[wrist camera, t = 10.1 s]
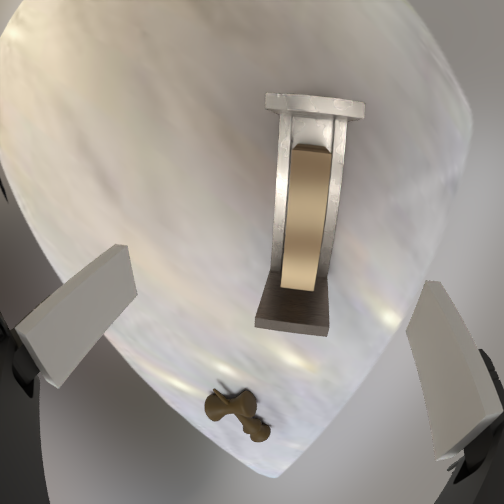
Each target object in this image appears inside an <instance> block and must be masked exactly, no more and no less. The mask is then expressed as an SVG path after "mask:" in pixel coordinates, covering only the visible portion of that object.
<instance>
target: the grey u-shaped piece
mask: <svg viewBox="0 0 504 504" xmlns="http://www.w3.org/2000/svg"><path fill="white" fill-rule="evenodd" d="M265 109H267V110H269V111H272V112H274V113H276V114H278V115H280V121H279V142H278V161H277V179H276V195H275V211H274V226H273V241H272V255H271V268H270V272H269V275H268V278H267V281H266V285H265V288H264V291H263V294H262V297H261V301H260V304H259V307H258V310H257V313H256V316H255V327H257V328H263V329H270V330H277V331H284V332H291V333H299V334H307V335H316V336H325V337H327V334H328V331H329V301H328V281H327V274H328V269H329V263H330V258H331V252H332V246H333V240H334V233H335V227H336V220H337V213H338V206H339V198H340V190H341V182H342V173H343V164H344V153H345V142H346V129H347V122H350V121H355V120H360V119H364V112H365V103H363V102H357V101H351V100H344V99H337V98H329V97H321V96H311V95H299V94H284V93H265ZM297 144H308V145H318V146H325V147H326V148H327V149H328V150H329V152H330V153H331V154H332V157H331V167H330V178H329V187H328V196H327V204H326V212H325V220H324V228H323V235H322V242H321V249H320V255H319V261H318V268H317V274H316V280H315V285H314V291H307V290H299V289H292V288H284V287H281V278H282V268H283V258H284V247H285V236H286V224H287V212H288V200H289V186H290V172H291V157H292V149H293V148H294V147H295V146H296V145H297Z"/></svg>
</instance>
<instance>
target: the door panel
mask: <svg viewBox="0 0 504 504" xmlns="http://www.w3.org/2000/svg"><path fill="white" fill-rule="evenodd" d="M331 157H332V154H331V153H330V152H329V150H328V149H327V148H326V147H325V146H318V145H308V144H297V145H296V146H295V147H294V148H293V149H292V157H291V172H290V186H289V200H288V212H287V224H286V236H285V247H284V258H283V268H282V278H281V287H284V288H292V289H299V290H307V291H314V285H315V280H316V274H317V268H318V261H319V255H320V249H321V242H322V235H323V228H324V220H325V212H326V204H327V196H328V187H329V178H330V167H331Z"/></svg>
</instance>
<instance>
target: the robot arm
mask: <svg viewBox="0 0 504 504" xmlns="http://www.w3.org/2000/svg"><path fill="white" fill-rule="evenodd" d="M137 295H138V294H137V290H136V286H135V281H134V276H133V272H132V267H131V262H130V257H129V251H128V246H126V245H118V244H115V245H113V246H112V247H111V248H109V249H108V250H107V251H105V252H104V253H103V254H101V255H100V256H99V257H97V258H96V259H95V260H94V261H92V262H91V263H90V264H88V265H87V266H86V267H85V268H83V269H82V270H81V271H79V272H78V273H77V274H76V275H74V276H73V277H72V278H71V279H70V280H68V281H67V282H66V283H65V284H63V285H62V286H61V287H60V288H59V289H58V290H56V291H55V292H54V293H53V294H51V295H49V296H48V297H47V298H46V299H45V300H44V301H42V302H41V304H39V305H38V306H37V307H36V308H35V310H32V311H31V312H30V313H29V314H28V315H27V316H26V317H24V318H23V319H22V320H21V321H20V322H19V323H18V324H17V325H16V326H15V327H14V328H13V329H12V330H9V328H8V326H7V324H6V322H5V320H4V318H3V316H2V314H1V312H0V504H50V501H49V497H48V492H47V487H46V481H45V476H44V468H43V461H42V451H41V440H40V420H39V391H40V380H39V377H38V376H37V374H38V373H39V372H41V373H42V375H43V376H44V377H45V379H46V381H47V382H49V383H50V384H52V385H53V386H55V387H57V388H58V389H59V388H60V387H61V385H62V384H63V382H64V381H65V380H66V379H67V377H68V376H69V375H70V374H71V372H72V371H73V370H74V369H75V367H76V366H77V365H78V364H79V363H80V361H81V360H82V359H83V358H84V356H85V355H86V354H87V353H88V352H89V350H90V349H91V348H92V347H93V346H94V344H95V343H96V342H97V341H98V340H99V338H100V337H101V336H102V335H103V334H104V333H105V331H106V330H107V329H108V328H109V327H110V326H111V324H112V323H113V322H114V321H115V320H116V319H117V318H118V316H119V315H120V314H121V313H122V312H123V311H124V310H125V308H126V307H127V306H128V305H129V304H130V303H131V302H132V301H133V299H134V298H135V297H136V296H137ZM406 334H407V337H408V340H409V343H410V346H411V350H412V353H413V357H414V360H415V363H416V366H417V371H418V374H419V379H420V382H421V387H422V390H423V395H424V399H425V404H426V408H427V413H428V418H429V423H430V429H431V434H432V440H433V447H434V454H435V460H436V461H437V460H442V459H446V458H450V457H454V456H455V455H456V454H457V453H459V452H460V451H461V450H462V449H464V454H465V455H464V456H463V457H462V458H460V459H459V460H458V461H456V462H455V463H454V464H452V465H451V466H450V467H449V468H448V469H447V471H450V470H452V469H453V468H454V467H456V468H455V470H454V471H453V472H452V475H451V477H450V479H449V481H448V482H447V484H446V486H445V487H444V489H443V491H442V492H441V494H440V495H439V497H438V499H437V500H436V502H435V503H434V504H504V389H503V386H502V384H501V381H500V380H499V377H498V375H497V372H496V371H495V368H494V366H493V364H492V361H491V359H490V358H489V357H488V355H487V354H486V353H485V352H484V351H483V350H482V349H478V348H477V346H476V344H475V342H474V340H473V338H472V336H471V334H470V332H469V331H468V328H467V327H466V325H465V323H464V321H463V319H462V317H461V316H460V314H459V312H458V310H457V309H456V307H455V305H454V304H453V302H452V300H451V298H450V297H449V295H448V294H447V292H446V290H445V289H444V287H443V286H442V284H441V282H437V281H427V280H426V281H425V284H424V287H423V289H422V292H421V295H420V297H419V300H418V303H417V305H416V308H415V310H414V313H413V315H412V317H411V320H410V322H409V325H408V327H407V329H406Z"/></svg>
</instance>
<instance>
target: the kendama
mask: <svg viewBox="0 0 504 504" xmlns="http://www.w3.org/2000/svg"><path fill="white" fill-rule="evenodd" d="M213 391H214V393H215V394H216V395H212V394H211V395H209V396H208V397H207V399H206V401H205V412H206V415H207V416H208V417H209V419H211V420H212V421H219V420H220V419H221V418H222V417H223V416H225V415H226V414H235V415H236V417H237V418H238V419H239V420H240V422H241V423H242V425H243V431H244V432H245V433H247V434H250V438H251V440H252V441H254V442H263V441H265V440H267V439H268V437H269V436H270V433H271V429H270V427H269V426H267V425H262V424H261V421H260V420H259V419H257V418H251V417H253V416H254V415H255V413H256V410H257V403H256V399H255V397H254V395H253V394H252V393H251V392H250V391H244V392H243V393H241V394H240V395H239V396H238V397H236V398H233V399H226V398H225V397H224V396H223V395H222V394H221V393H220V392H219V391H218V390H216V389H213Z"/></svg>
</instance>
